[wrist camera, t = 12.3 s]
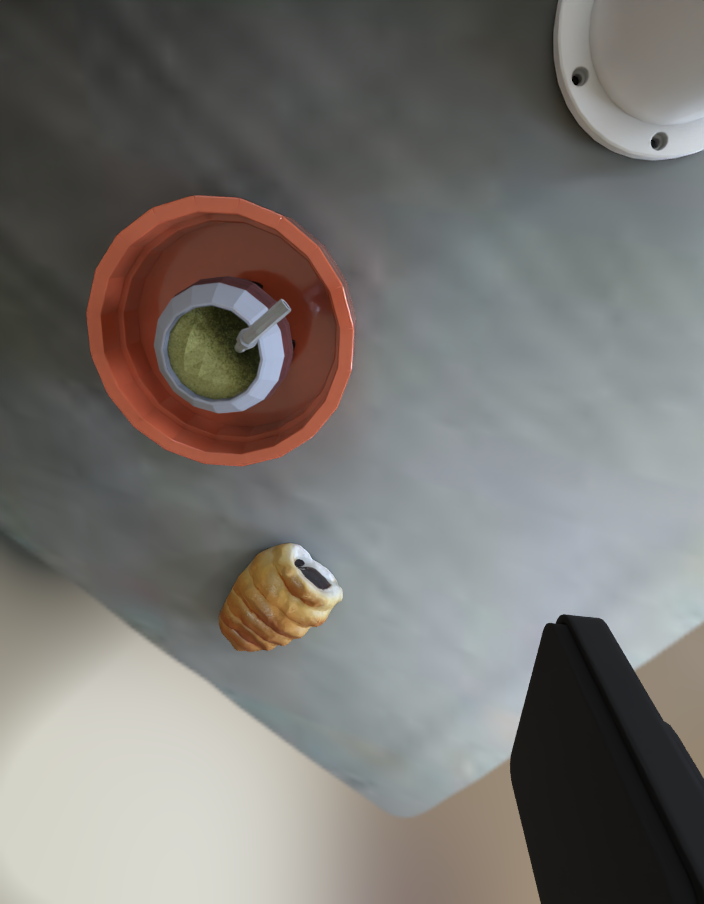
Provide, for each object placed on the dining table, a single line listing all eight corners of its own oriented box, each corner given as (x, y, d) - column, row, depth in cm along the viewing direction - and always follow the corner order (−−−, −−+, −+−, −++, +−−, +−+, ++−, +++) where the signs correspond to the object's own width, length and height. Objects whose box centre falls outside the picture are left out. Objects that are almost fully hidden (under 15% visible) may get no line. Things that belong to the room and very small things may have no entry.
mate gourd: (181, 370, 36) (57, 448, 22) (204, 243, 33) (80, 239, 19) (294, 402, 36) (244, 500, 22) (326, 280, 34) (292, 302, 19)
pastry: (266, 654, 44) (256, 690, 40) (201, 601, 42) (184, 633, 39) (350, 583, 41) (348, 615, 38) (284, 524, 40) (275, 551, 36)
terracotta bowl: (115, 196, 33) (72, 187, 28) (362, 210, 33) (360, 204, 28) (134, 431, 38) (101, 457, 33) (349, 445, 38) (346, 473, 33)
